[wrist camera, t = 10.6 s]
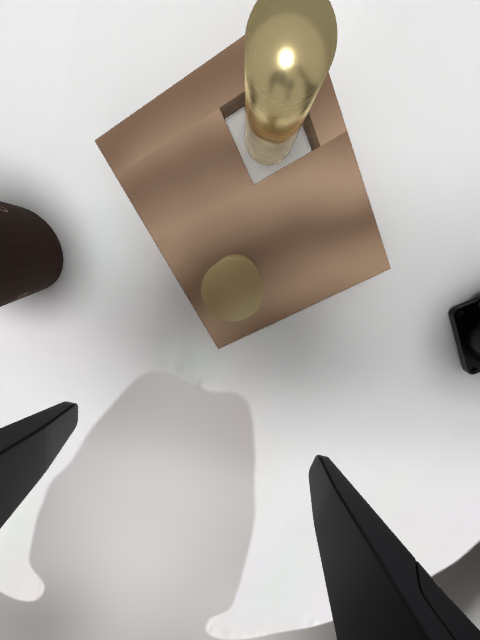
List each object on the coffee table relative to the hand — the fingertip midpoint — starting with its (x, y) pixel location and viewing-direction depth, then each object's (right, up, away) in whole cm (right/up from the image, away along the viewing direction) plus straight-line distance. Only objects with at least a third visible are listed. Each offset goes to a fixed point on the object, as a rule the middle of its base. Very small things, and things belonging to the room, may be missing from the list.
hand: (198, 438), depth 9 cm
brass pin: (+3, +17, +7) cm, 18 cm away
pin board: (+2, +12, +9) cm, 15 cm away
